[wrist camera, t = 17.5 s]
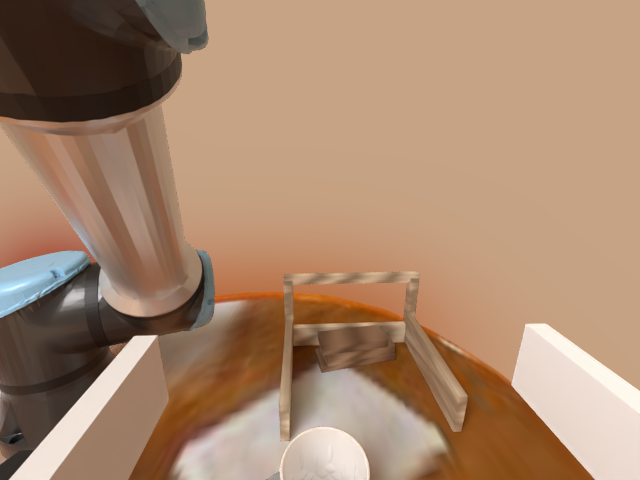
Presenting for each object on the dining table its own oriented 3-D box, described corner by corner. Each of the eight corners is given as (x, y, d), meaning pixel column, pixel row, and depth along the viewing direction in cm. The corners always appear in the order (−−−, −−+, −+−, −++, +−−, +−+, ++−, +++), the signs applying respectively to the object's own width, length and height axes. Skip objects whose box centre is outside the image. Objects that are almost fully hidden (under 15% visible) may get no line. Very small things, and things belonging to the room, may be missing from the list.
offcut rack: (279, 441, 40) (275, 346, 36) (286, 341, 60) (284, 273, 56) (462, 431, 42) (480, 339, 37) (409, 337, 62) (416, 271, 58)
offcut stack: (322, 375, 52) (322, 351, 51) (314, 353, 57) (314, 332, 56) (395, 362, 56) (398, 339, 54) (381, 342, 61) (383, 321, 60)
